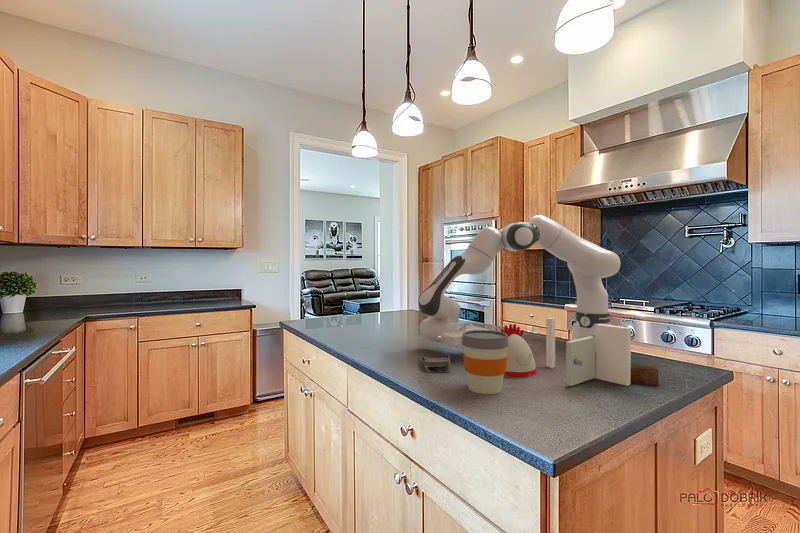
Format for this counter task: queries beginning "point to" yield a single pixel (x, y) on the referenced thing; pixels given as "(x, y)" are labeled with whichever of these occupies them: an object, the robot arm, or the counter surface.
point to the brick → (644, 375)
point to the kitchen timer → (518, 354)
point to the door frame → (602, 352)
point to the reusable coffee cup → (485, 360)
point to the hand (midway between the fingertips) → (484, 340)
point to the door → (580, 360)
